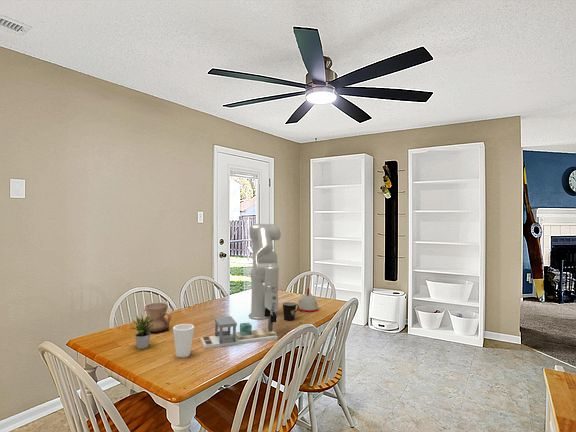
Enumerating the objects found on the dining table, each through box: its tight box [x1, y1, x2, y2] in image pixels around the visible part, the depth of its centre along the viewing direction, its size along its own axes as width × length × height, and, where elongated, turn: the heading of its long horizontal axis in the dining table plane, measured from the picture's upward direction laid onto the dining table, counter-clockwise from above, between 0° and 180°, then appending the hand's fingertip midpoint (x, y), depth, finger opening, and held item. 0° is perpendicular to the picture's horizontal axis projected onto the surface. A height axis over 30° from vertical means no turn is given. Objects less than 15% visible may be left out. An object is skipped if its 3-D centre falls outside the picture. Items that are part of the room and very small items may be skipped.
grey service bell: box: [297, 287, 319, 314], centre depth 245 cm, size 14×14×15 cm
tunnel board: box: [200, 315, 279, 350], centre depth 184 cm, size 38×13×11 cm, turn 113°
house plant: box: [128, 313, 158, 350], centre depth 170 cm, size 14×14×16 cm
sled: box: [236, 317, 277, 339], centre depth 187 cm, size 21×8×8 cm, turn 113°
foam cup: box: [172, 323, 195, 358], centre depth 163 cm, size 10×9×13 cm
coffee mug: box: [282, 301, 299, 322], centre depth 222 cm, size 12×9×10 cm
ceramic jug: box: [142, 301, 172, 333], centre depth 196 cm, size 18×14×14 cm
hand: (270, 319), depth 192 cm, fingers open, 9 cm apart
